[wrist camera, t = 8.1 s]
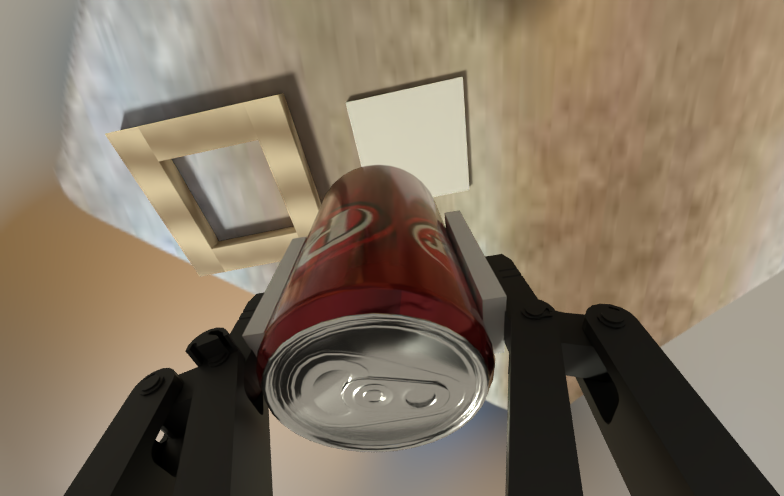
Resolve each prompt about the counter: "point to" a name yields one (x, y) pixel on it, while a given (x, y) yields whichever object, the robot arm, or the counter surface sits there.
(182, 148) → the well board
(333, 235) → the soda can
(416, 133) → the tile
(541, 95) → the counter surface
